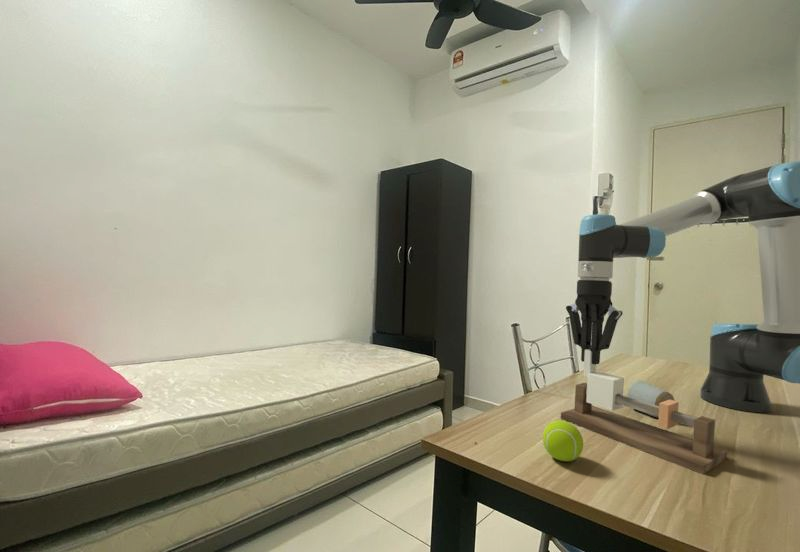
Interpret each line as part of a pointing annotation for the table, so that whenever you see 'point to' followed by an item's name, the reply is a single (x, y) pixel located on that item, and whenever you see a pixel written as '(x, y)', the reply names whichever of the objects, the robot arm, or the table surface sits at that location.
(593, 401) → the sleeve
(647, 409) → the rail stand
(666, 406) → the band
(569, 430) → the tennis ball
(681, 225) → the robot arm
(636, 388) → the pale blue cylinder
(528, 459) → the table surface
